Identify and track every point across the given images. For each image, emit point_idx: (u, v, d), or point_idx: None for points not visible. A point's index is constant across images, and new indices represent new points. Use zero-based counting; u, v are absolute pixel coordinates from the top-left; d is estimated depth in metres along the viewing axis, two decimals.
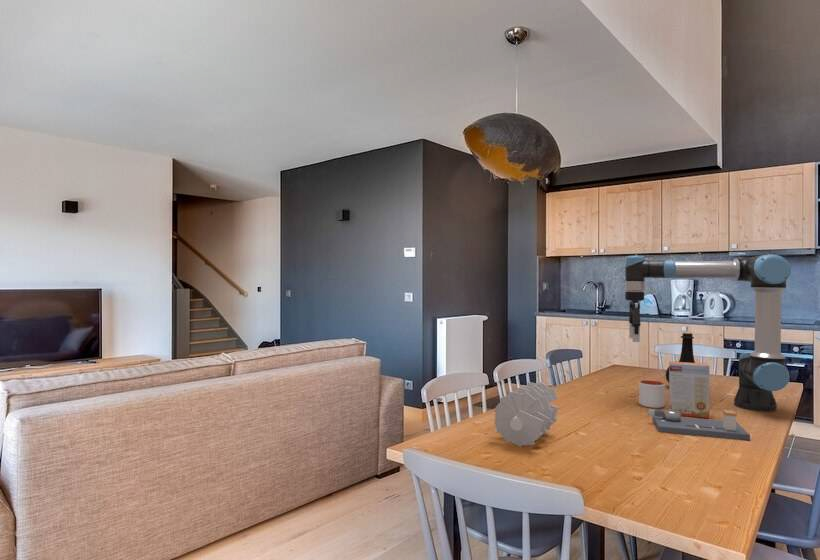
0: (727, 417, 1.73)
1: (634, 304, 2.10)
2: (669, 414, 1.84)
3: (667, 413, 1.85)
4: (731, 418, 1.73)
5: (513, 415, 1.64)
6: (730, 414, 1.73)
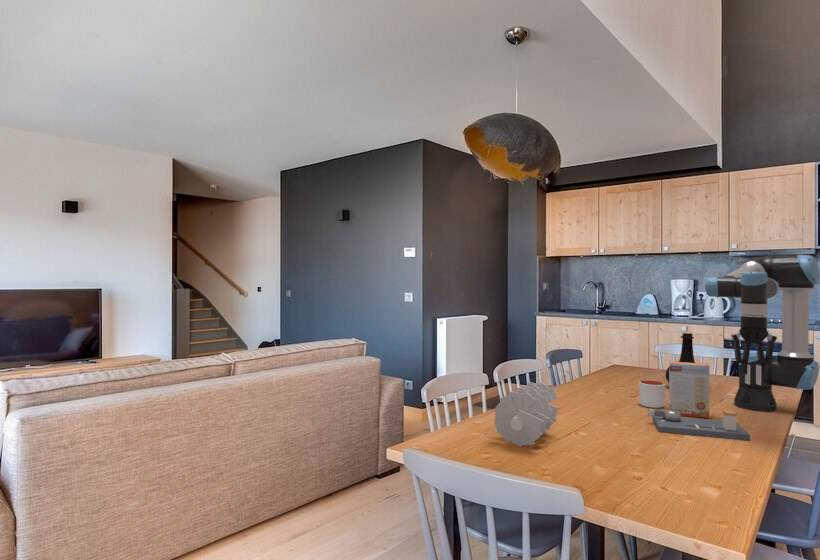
0: (727, 417, 1.73)
1: (731, 336, 1.75)
2: (669, 414, 1.84)
3: (667, 413, 1.85)
4: (731, 418, 1.73)
5: (513, 415, 1.64)
6: (730, 414, 1.73)
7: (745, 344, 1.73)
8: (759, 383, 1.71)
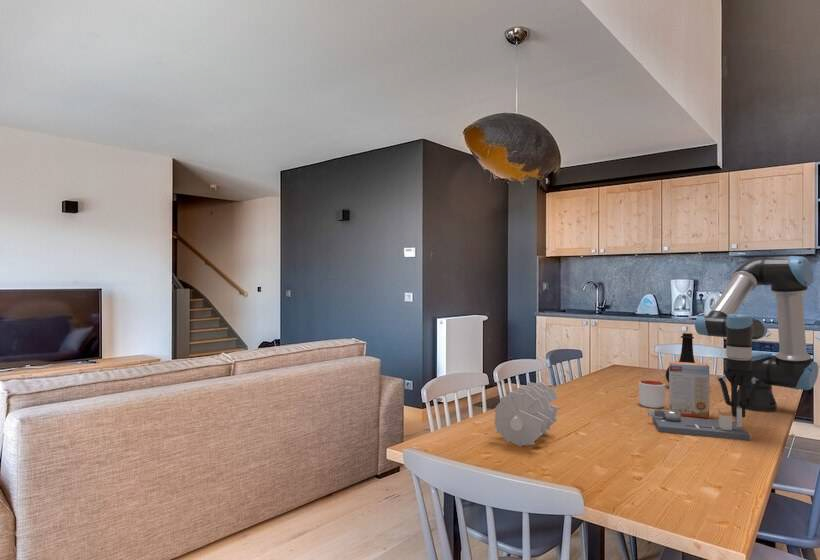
0: (723, 417, 1.74)
1: None
2: (669, 414, 1.84)
3: (667, 413, 1.85)
4: (727, 418, 1.73)
5: (513, 415, 1.64)
6: (726, 414, 1.73)
7: (732, 386, 1.74)
8: (740, 425, 1.73)
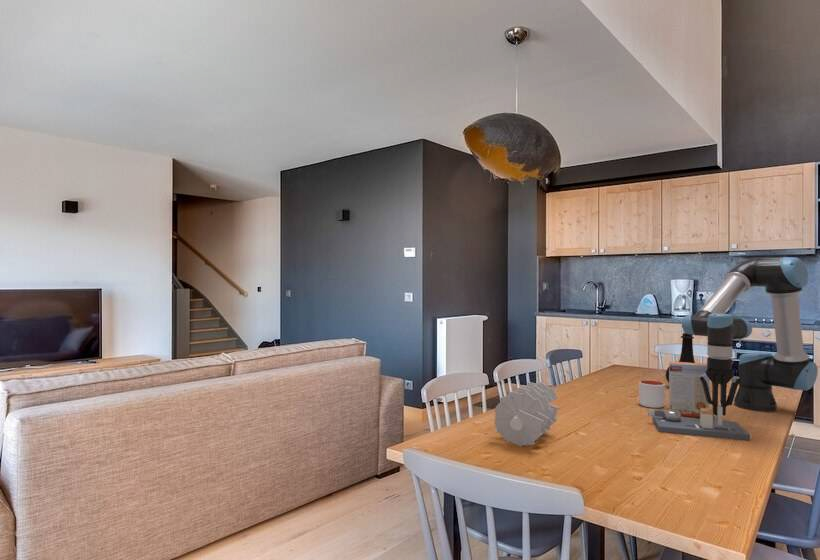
0: (704, 415, 1.75)
1: (699, 378, 1.78)
2: (669, 414, 1.84)
3: (667, 413, 1.85)
4: (708, 416, 1.75)
5: (513, 415, 1.64)
6: (707, 412, 1.75)
7: (713, 385, 1.76)
8: (720, 423, 1.74)
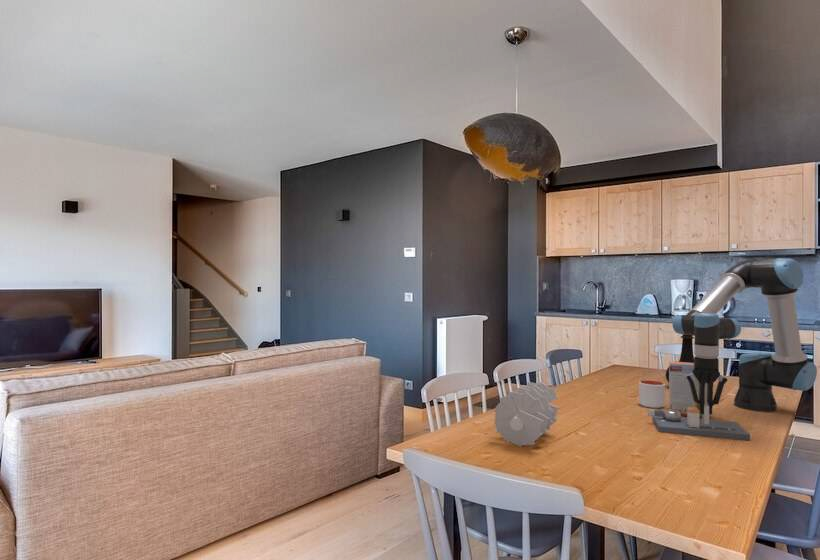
0: (691, 414, 1.77)
1: (686, 377, 1.80)
2: (669, 414, 1.84)
3: (667, 413, 1.85)
4: (694, 415, 1.76)
5: (513, 415, 1.64)
6: (693, 411, 1.76)
7: (700, 384, 1.78)
8: (707, 422, 1.76)
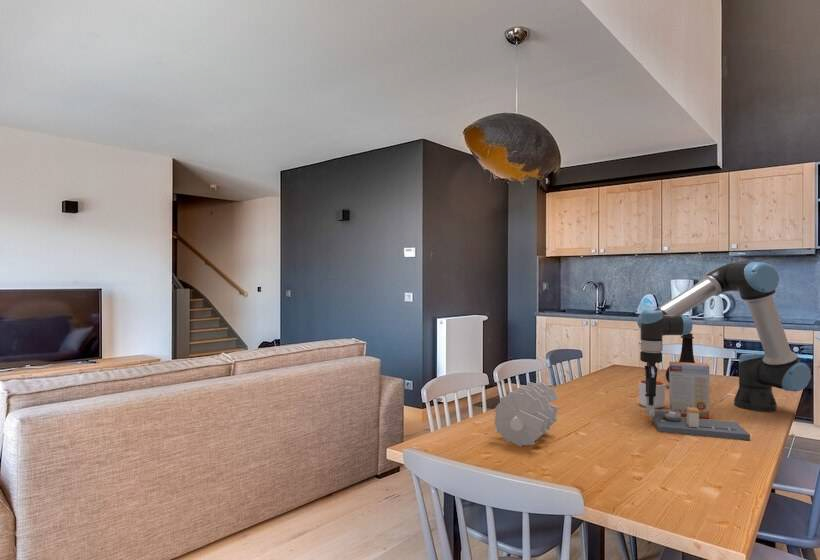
0: (690, 414, 1.77)
1: (651, 375, 1.84)
2: (669, 414, 1.84)
3: (667, 413, 1.85)
4: (694, 415, 1.76)
5: (513, 415, 1.64)
6: (693, 411, 1.76)
7: None
8: None
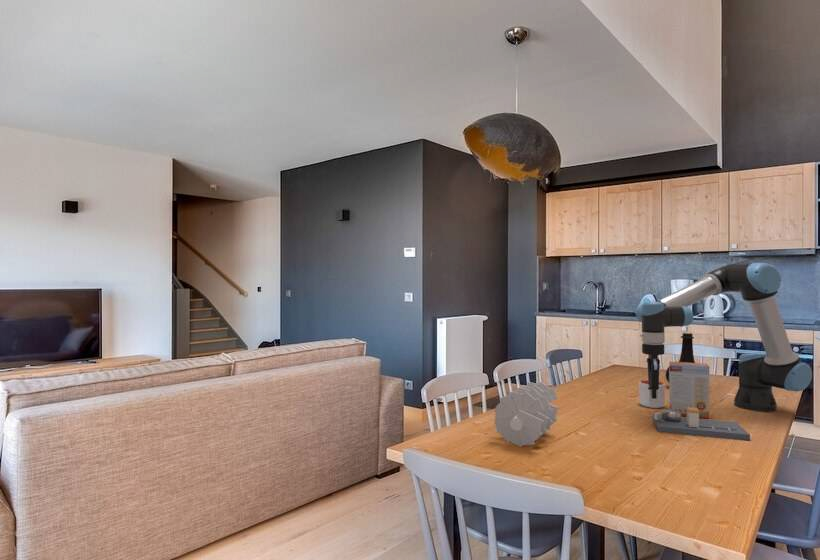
0: (690, 414, 1.77)
1: (653, 367, 1.80)
2: (675, 415, 1.83)
3: (673, 414, 1.83)
4: (694, 415, 1.76)
5: (513, 415, 1.64)
6: (693, 411, 1.76)
7: None
8: None
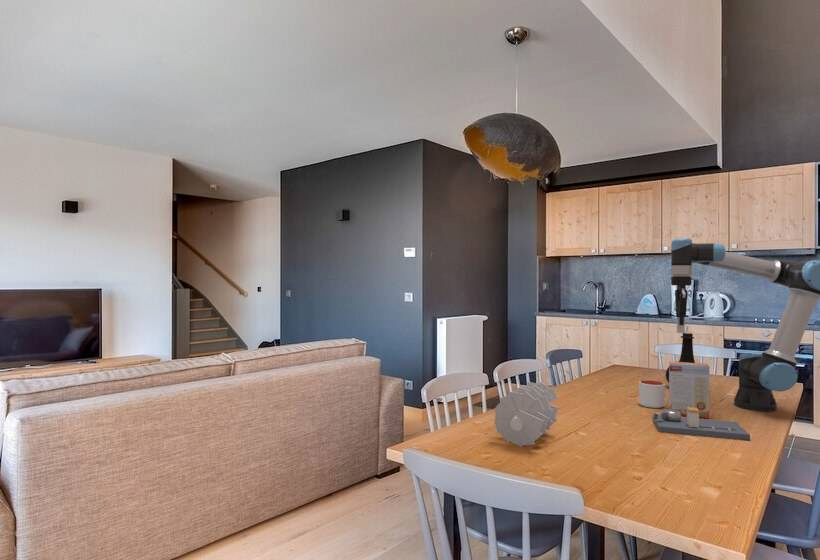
0: (690, 414, 1.77)
1: (682, 295, 2.01)
2: (675, 415, 1.83)
3: (673, 414, 1.83)
4: (694, 415, 1.76)
5: (513, 415, 1.64)
6: (693, 411, 1.76)
7: None
8: None
